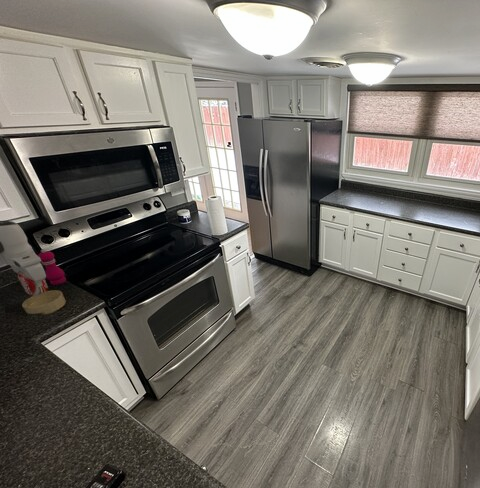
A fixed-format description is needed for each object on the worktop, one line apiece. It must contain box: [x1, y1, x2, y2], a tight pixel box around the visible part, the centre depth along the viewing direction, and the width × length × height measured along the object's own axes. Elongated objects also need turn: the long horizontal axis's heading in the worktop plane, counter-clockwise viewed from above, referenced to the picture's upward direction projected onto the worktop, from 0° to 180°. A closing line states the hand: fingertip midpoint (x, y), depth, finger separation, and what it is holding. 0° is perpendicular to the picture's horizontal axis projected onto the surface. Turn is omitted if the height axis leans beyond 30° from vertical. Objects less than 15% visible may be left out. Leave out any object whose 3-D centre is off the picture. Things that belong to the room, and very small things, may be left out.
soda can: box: [17, 271, 49, 297], centre depth 118 cm, size 7×7×12 cm
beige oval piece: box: [21, 289, 67, 316], centre depth 123 cm, size 13×13×6 cm
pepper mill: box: [37, 249, 67, 286], centre depth 139 cm, size 7×7×20 cm
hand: (34, 283), depth 119 cm, fingers closed on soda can, 7 cm apart
